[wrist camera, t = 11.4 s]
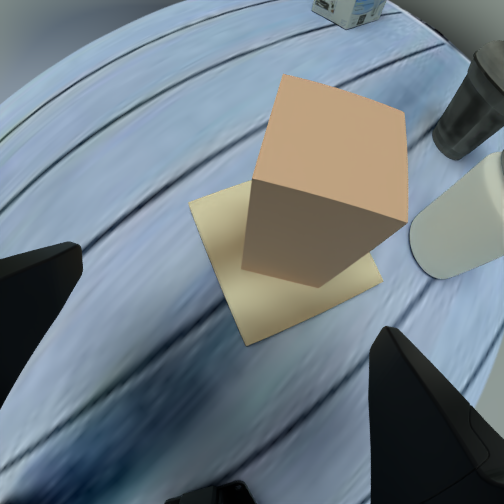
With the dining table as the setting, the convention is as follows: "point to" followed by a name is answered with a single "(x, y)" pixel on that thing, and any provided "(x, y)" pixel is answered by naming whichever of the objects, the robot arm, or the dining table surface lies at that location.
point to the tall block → (324, 183)
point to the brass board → (261, 286)
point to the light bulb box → (349, 11)
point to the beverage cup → (474, 105)
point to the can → (463, 223)
